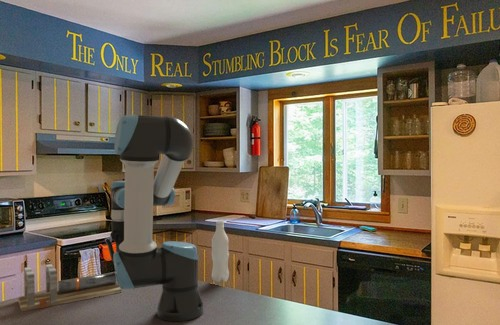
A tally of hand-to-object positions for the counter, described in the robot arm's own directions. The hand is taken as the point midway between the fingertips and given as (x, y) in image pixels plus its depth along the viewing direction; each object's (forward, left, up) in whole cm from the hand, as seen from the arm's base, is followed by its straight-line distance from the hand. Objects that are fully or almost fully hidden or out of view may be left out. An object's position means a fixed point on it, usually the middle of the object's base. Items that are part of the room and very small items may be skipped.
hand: (121, 278), depth 160 cm
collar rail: (0, +19, -3) cm, 19 cm away
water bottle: (-16, -36, -4) cm, 40 cm away
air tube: (0, +13, -2) cm, 13 cm away
